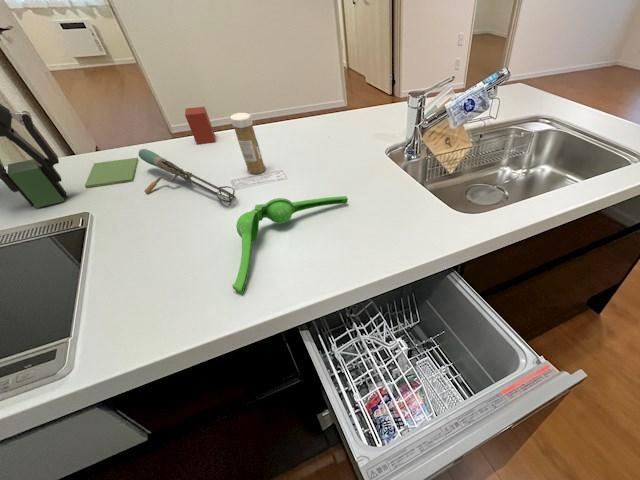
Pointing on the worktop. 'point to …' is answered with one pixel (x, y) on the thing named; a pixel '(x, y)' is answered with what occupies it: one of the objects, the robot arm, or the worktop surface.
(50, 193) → the green block
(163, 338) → the worktop surface
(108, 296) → the worktop surface
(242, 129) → the sprinkles bottle
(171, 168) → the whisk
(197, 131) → the red block
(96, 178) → the sage mat
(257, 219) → the lime squeezer
